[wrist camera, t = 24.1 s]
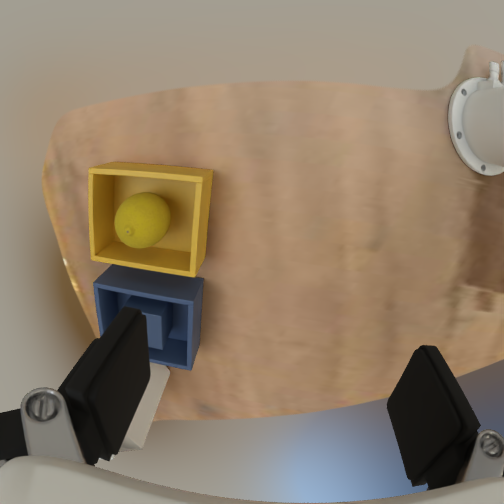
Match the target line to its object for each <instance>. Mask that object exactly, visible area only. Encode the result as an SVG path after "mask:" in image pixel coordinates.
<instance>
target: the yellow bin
mask: <svg viewBox="0 0 504 504" xmlns="http://www.w3.org/2000/svg"><path fill="white" fill-rule="evenodd" d="M212 179H213V170H209V169H199V168H189V167H179V166H168V165H155V164H141V163H126V162H110V163H106V164H102V165H98V166H94V167H91V168H89V181H88V205H89V236H90V252H91V260H94V261H99V262H105V263H110V264H116V265H122V266H127V267H133V268H139V269H145V270H151V271H157V272H163V273H169V274H175V275H181V276H188V277H194V278H195V277H196V274H197V272H198V270H199V268H200V266H201V264H202V262H203V260H204V258H205V254H206V242H207V231H208V219H209V209H210V199H211V189H212ZM141 192H151V193H154V194H157V195H159V196H160V197H162V198H163V199H164V200H165V201H166V203H167V205H168V206H169V209H170V212H171V223H170V227H169V229H168V231H167V233H166V235H165V236H164V237H163V238H162V239H161V240H160V241H159V242H157V243H156V244H154V245H153V246H150V247H147V248H133V247H130V246H128V245H126V244H125V243H123V242H122V241H121V240H120V238H119V237H118V235H117V233H116V230H115V216H116V213H117V211H118V209H119V207H120V205H121V204H122V203H123V202H124V201H125V200H126V199H127V198H129V197H130V196H132V195H134V194H137V193H141Z"/></svg>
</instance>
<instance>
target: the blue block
mask: <svg viewBox="0 0 504 504" xmlns="http://www.w3.org/2000/svg"><path fill="white" fill-rule="evenodd" d="M124 306H126V307H131V308H136V309H140V310H141V312H142V314H143V315H146V318H147V334H148V347H151V348H156V349H161V350H163V347H164V345H165V343H166V341H167V339H168V337H169V334H170V332H171V330H172V328H173V302H167V301H162V300H156V299H151V298H146V297H140V296H135V295H131V296H130V298H129V299H128V300H127V302H126V303H125V304H124ZM124 306H123V307H124ZM123 307H122V308H123Z"/></svg>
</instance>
